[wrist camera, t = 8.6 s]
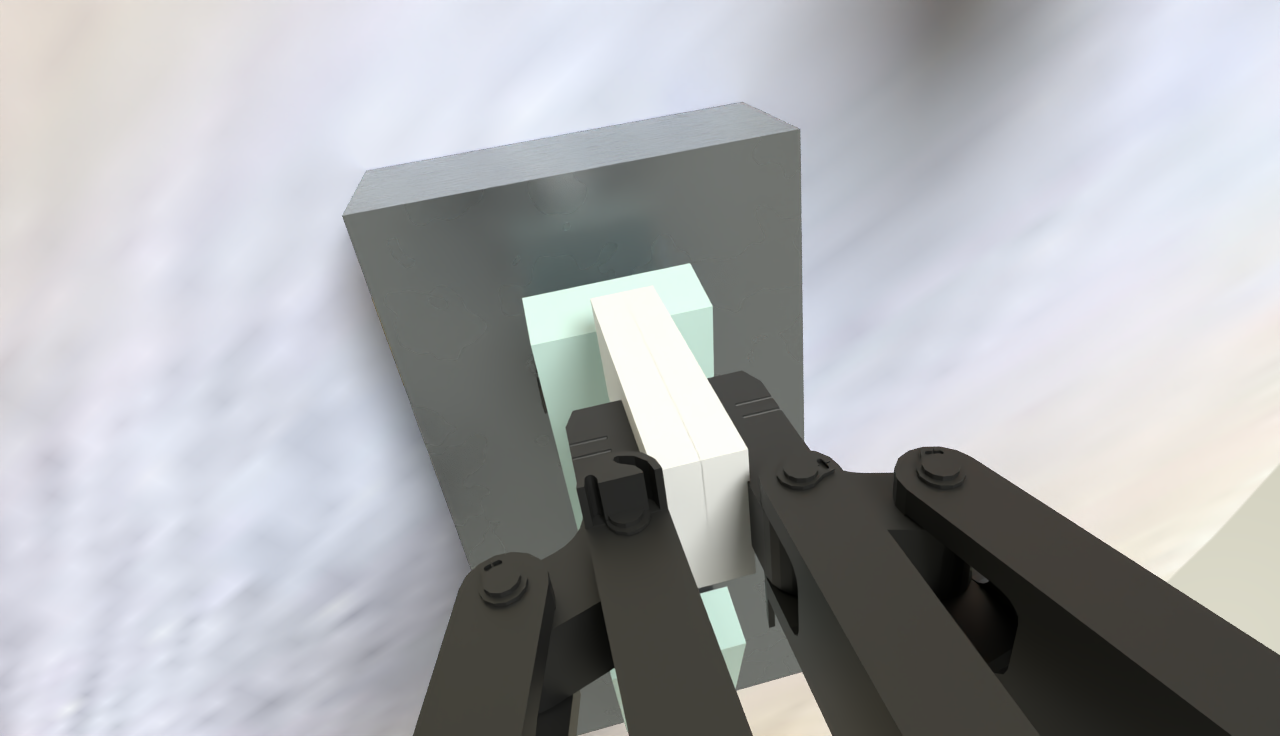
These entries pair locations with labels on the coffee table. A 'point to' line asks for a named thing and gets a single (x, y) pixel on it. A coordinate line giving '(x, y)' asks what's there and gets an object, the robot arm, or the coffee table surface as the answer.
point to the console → (570, 257)
